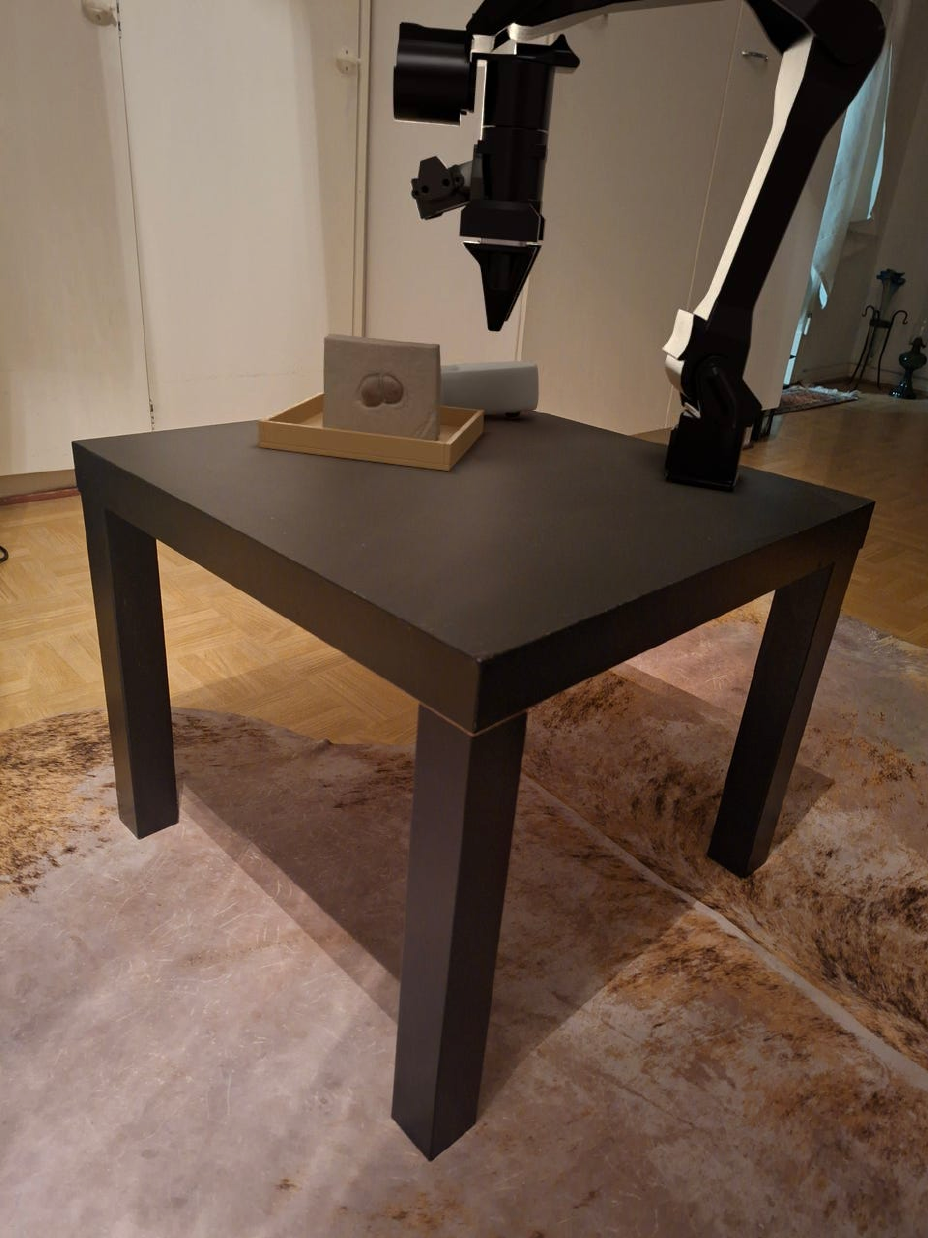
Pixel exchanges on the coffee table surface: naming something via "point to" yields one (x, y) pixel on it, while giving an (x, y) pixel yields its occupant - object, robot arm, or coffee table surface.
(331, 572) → the coffee table surface
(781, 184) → the robot arm
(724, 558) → the coffee table surface
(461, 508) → the coffee table surface
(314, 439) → the wooden tray
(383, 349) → the fossil
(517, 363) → the toy
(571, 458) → the coffee table surface
